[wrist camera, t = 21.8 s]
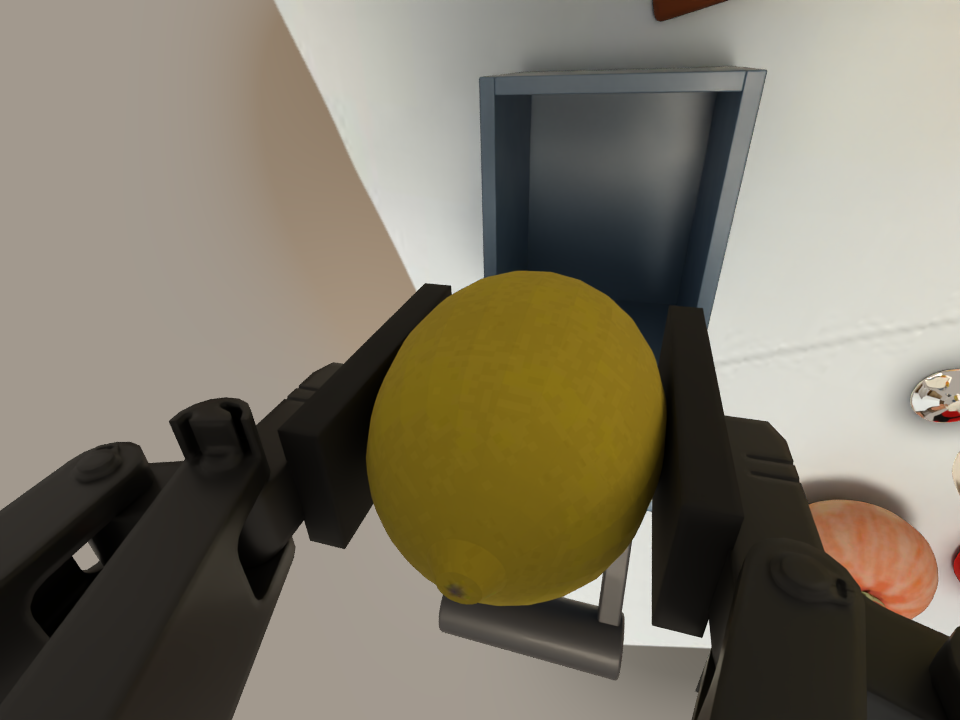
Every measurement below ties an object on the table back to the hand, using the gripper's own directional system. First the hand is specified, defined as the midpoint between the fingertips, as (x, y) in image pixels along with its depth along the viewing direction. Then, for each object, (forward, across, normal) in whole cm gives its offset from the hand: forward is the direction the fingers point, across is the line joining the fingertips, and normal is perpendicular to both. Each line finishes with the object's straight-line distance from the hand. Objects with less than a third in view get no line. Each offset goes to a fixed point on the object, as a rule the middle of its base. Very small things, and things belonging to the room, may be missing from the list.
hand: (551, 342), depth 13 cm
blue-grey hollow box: (+25, 0, -2) cm, 25 cm away
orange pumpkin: (+25, +21, -28) cm, 43 cm away
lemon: (0, 0, 0) cm, 1 cm away
